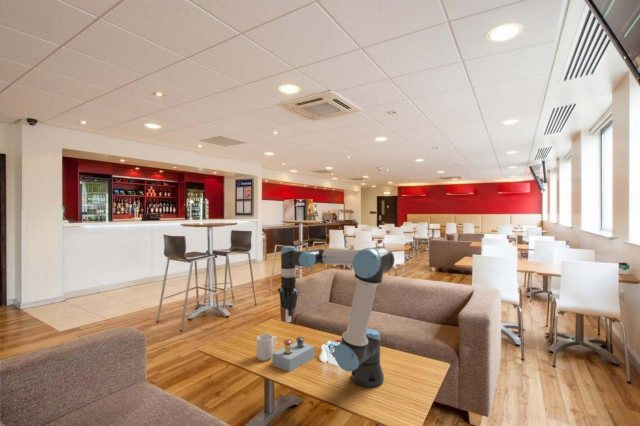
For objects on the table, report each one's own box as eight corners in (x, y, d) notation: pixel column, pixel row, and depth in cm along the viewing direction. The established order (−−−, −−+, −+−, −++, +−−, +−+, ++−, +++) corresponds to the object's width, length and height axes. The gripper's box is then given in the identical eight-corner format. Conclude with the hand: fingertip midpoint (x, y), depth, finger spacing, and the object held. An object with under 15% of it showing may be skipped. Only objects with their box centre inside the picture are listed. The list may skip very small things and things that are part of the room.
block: (314, 357, 174) (314, 346, 174) (289, 371, 157) (289, 359, 158) (297, 351, 181) (297, 341, 181) (272, 364, 165) (272, 353, 165)
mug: (263, 363, 167) (263, 341, 167) (253, 357, 173) (253, 337, 173) (280, 355, 175) (281, 335, 175) (270, 351, 181) (271, 331, 181)
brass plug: (293, 358, 165) (293, 340, 166) (287, 360, 162) (288, 343, 162) (287, 356, 168) (287, 338, 168) (282, 358, 165) (282, 341, 165)
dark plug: (305, 354, 174) (305, 338, 174) (300, 357, 170) (300, 340, 170) (299, 352, 176) (299, 336, 176) (294, 355, 173) (294, 338, 173)
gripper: (302, 276, 165) (302, 322, 164) (284, 273, 172) (284, 317, 172) (293, 278, 159) (293, 326, 158) (274, 275, 166) (274, 321, 166)
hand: (288, 321), depth 165 cm, fingers closed
